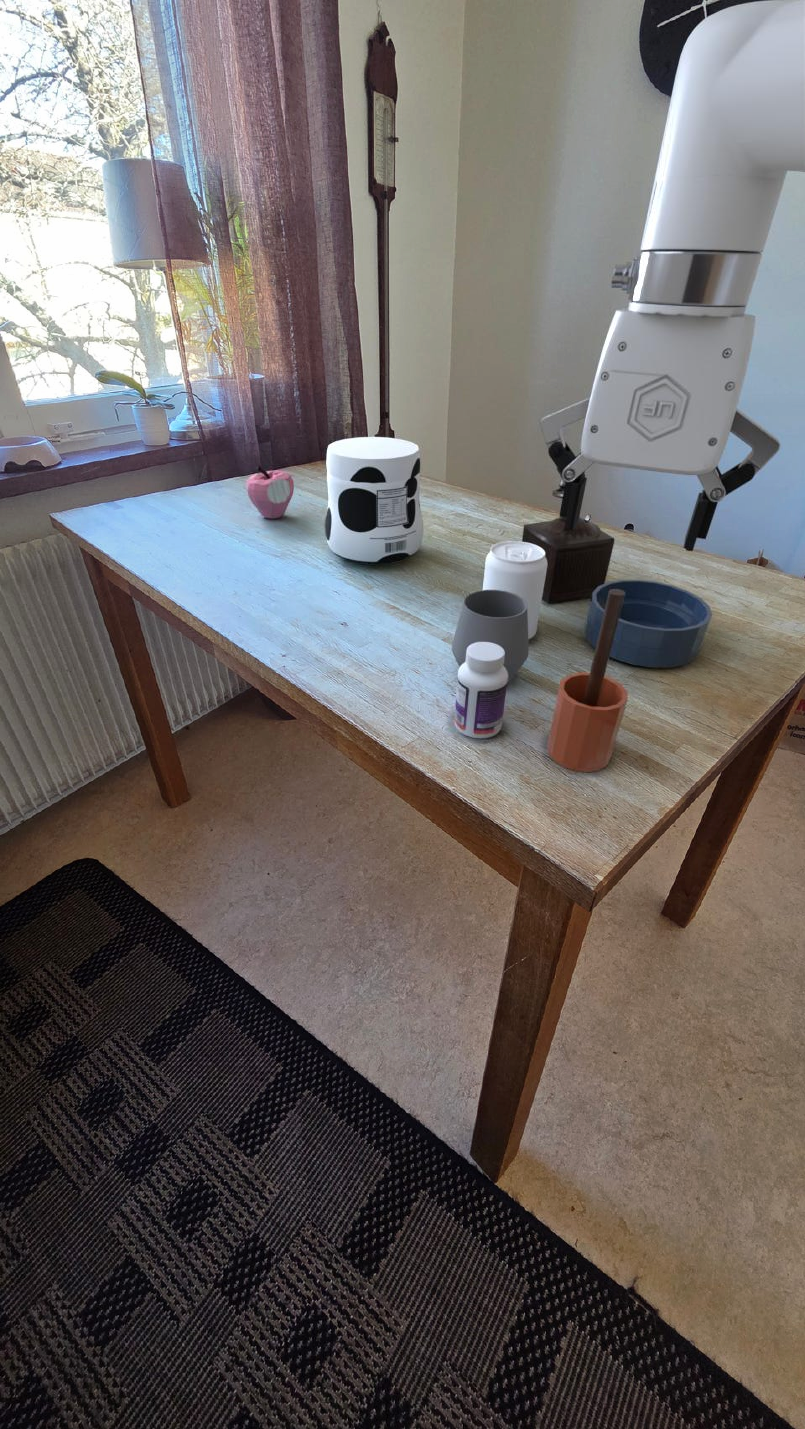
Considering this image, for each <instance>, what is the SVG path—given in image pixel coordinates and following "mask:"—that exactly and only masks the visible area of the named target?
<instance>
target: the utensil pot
mask: <svg viewBox="0 0 805 1429" xmlns="http://www.w3.org/2000/svg"><path fill="white" fill-rule="evenodd" d="M589 674H590V672H584V671H583V672H581V671H580V672H575V673H570V674H568V675H566V676H564V677H563V678H561V680H560V681H559V684H558V688H557V694H556V700H555V705H554V709H553V714H552V719H551V724H550V729H549V733H548V739H547V745H546V750H547V753H548V755H549V757H550V758H551V759H552V760H553V761H554V762H555V763H556V764H558V766H561V767H562V768H565V769H568V770H570V771H575V772H578V773H579V772H581V773H591V772H597V771H600V770H602V769H603V768H605V767H606V766H608V764H609V762H610V760H611V758H612V755H613V752H614V748H615V744H616V741H617V738H618V735H619V731H620V728H621V725H622V721H623V718H624V714H625V710H626V708H627V703H628V691H627V690H626V688H625V687H624V686H623V685H622V684H621V682H619V681H617V680H616V679H613V678H611V677H609V676H608V675H607V676H606V675H605V676H604V679H603V683H602V687H601V691H600V695H599V699H598V703H597V707H592V706H588V705H585V704H583V699H584V695H585V691H586V687H587V683H588V678H589Z"/></svg>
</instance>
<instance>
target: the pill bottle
mask: <svg viewBox="0 0 805 1429" xmlns="http://www.w3.org/2000/svg"><path fill="white" fill-rule="evenodd" d="M504 657H505V651H504V649H503V648H502V647H501V646H499V645H497V644H494V643H490V642H477V643H473V644H471V645H470V646H468V648H467V651H466V662H465V663H463V664H462V665H461V666H460V667H458V670H457V677H456V690H455V706H454V726H455V728H456V730H457V731H459V733H460V734H462V735H464V736H467V737H469V738H472V739H488V738H492V737H494V736H495V735H498V733H499V732H500V731H501V729H502V726H503V721H504V712H505V704H506V697H507V691H508V690H507V689H508V684H509V683H508V682H509V681H508V672H507V670H506V668H505V667H504V666H503V664H504Z"/></svg>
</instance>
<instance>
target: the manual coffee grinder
mask: <svg viewBox="0 0 805 1429" xmlns="http://www.w3.org/2000/svg"><path fill="white" fill-rule="evenodd" d="M556 471H557V473H558V474H559V476H560V482H559V484H558V487H559V488H557V489H554V490H552V492H551V495H552V497H554V498H558V499H562V498H563V492H564V487H565V481H564V480H563V478H562V473H561V472H560V470H559V469H558V467H557V466H556ZM591 518H592V515H591V514H587V515H586V516H585V518H583V517H581V516H579V520H578V523H577V524H576V526H575V528H574V529H573V530H571V531H570V532H569V531H564V526H565V521H566V518H565V517H560V516H559V517H557V518H554V519H552V520H548V521H539V522H532V523H527V524H524V525H523V530H522V539H521V542H527V543H531V544H534V545H537V546H539V547H541V548H542V549H543V550H544V551H545V557H546V559H547V571H546V577H545V583H544V589H543V595H542V600H543V601H544V602H546V603H547V604H558V603H564V602H570V601H578V600H583V599H584V600H585V599H591V596H592V593H593V591H594V590H595V589H596V588H597V587H598V586H600V585H603V584H605V583H606V580H607V576H608V575H607V574H608V570H609V567H610V561H611V558H612V554H613V550H614V549H613V548H614V544H615V537H613V536H611V535H610V534H608V533H607V532H604V531H603V530H601V528H600V527H599V526H598V525H597V524H596V523H594V522H592V521H591Z"/></svg>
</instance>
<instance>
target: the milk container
mask: <svg viewBox="0 0 805 1429" xmlns="http://www.w3.org/2000/svg"><path fill="white" fill-rule="evenodd" d="M325 464H326V471H327V472H326V484H327V492H328V493H327V494H328V502H327V503H328V504H327V509H326V514H325V520H324V533H325V539H326V541H327V545H328V547H329V549H330V551H331V552H332V553H333V555H335V556H336V557H338V558H340V559H343V560H345V561H346V562H349V563H350V562H351V563H355V564H359V565H371V566H376V565H378V566H379V565H389V564H394V563H400V562H403V561H404V560H407V559H409V558H411V557H412V556H414V555H415V554H416V553H417V552H418V551H419V549H420V548H421V545H422V542H423V537H424V531H425V530H424V529H425V528H424V527H425V526H424V516H423V514H422V508H421V504H420V487H421V473H420V472H421V454H420V448H419V445H418V444H417V443H414V442H412V441H409V440H405V439H401V438H394V437H385V436H383V437H382V436H359V437H351V438H343V439H340V440H336V441H333V442H332V443H330V444H328V446H327V450H326V462H325Z"/></svg>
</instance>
